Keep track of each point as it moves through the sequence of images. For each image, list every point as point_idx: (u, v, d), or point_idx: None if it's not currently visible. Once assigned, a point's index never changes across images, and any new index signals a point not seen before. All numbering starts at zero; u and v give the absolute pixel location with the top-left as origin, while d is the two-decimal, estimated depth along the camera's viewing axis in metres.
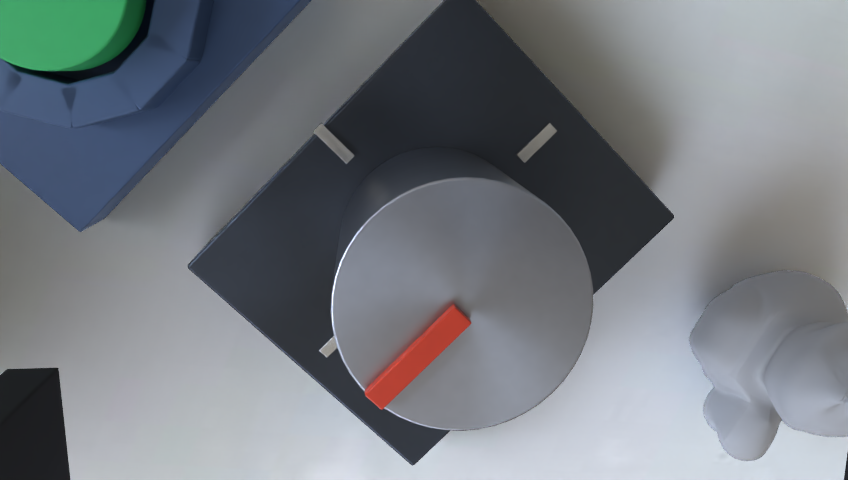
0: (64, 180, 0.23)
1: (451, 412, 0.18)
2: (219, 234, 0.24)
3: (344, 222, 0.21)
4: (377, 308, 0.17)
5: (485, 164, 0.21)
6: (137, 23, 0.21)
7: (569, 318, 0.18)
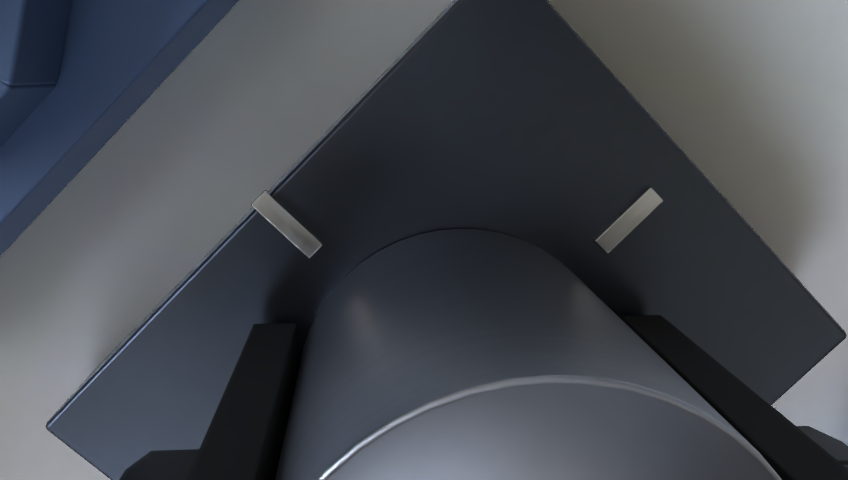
0: None
1: None
2: (97, 374, 0.14)
3: (298, 380, 0.12)
4: None
5: (557, 280, 0.11)
6: None
7: None
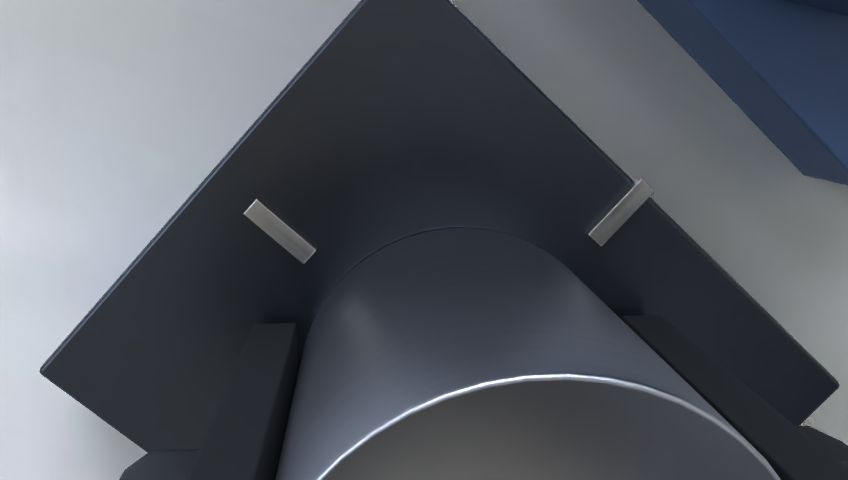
0: None
1: None
2: (463, 17, 0.13)
3: (303, 369, 0.12)
4: None
5: (566, 283, 0.11)
6: None
7: None
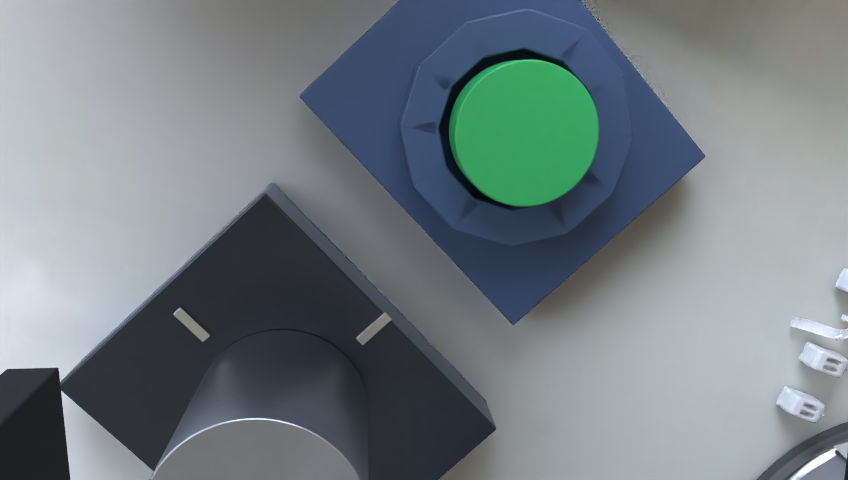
0: (348, 89, 0.25)
1: None
2: (294, 224, 0.26)
3: None
4: None
5: (312, 369, 0.24)
6: None
7: None
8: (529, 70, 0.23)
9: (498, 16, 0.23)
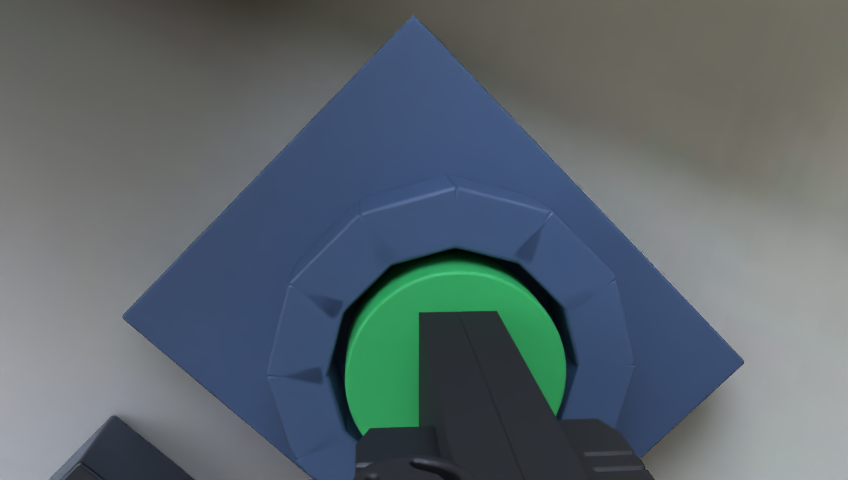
0: (196, 303, 0.17)
1: None
2: None
3: None
4: None
5: None
6: None
7: None
8: (453, 287, 0.15)
9: (409, 203, 0.15)
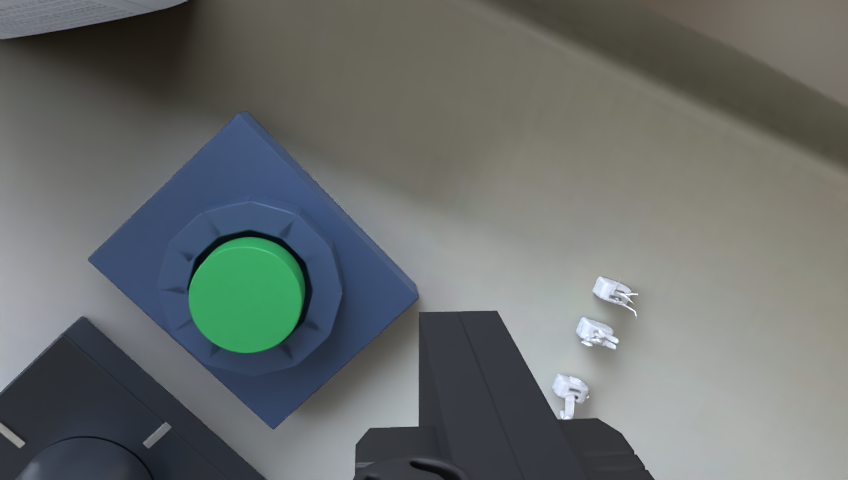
0: (126, 253, 0.32)
1: None
2: (88, 357, 0.33)
3: None
4: None
5: (89, 477, 0.31)
6: None
7: None
8: (242, 254, 0.30)
9: (226, 207, 0.30)
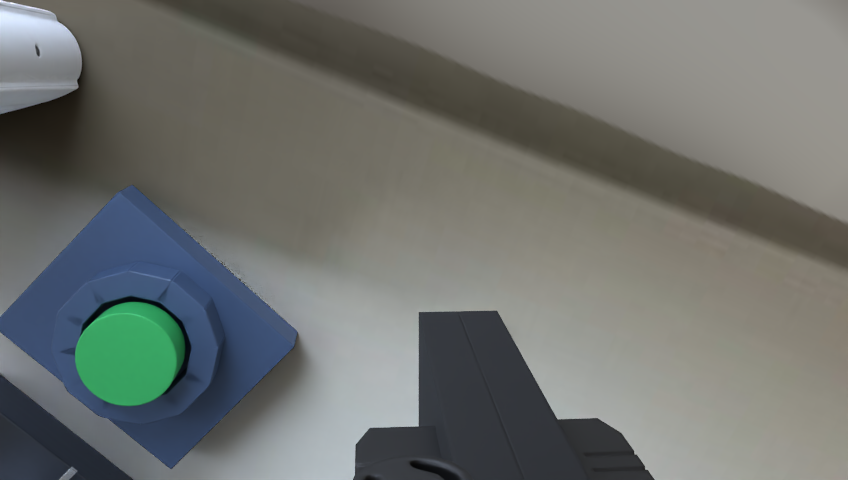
0: (26, 319, 0.36)
1: None
2: None
3: None
4: None
5: None
6: None
7: None
8: (120, 320, 0.33)
9: (108, 277, 0.34)
